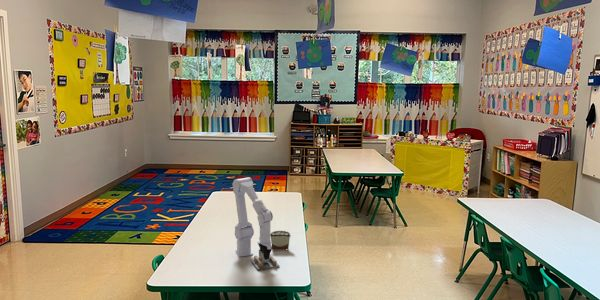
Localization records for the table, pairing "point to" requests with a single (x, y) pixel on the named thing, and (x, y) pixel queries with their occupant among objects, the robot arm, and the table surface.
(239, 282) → the table surface
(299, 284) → the table surface
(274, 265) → the slot seat
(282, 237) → the food container
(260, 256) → the steel block
